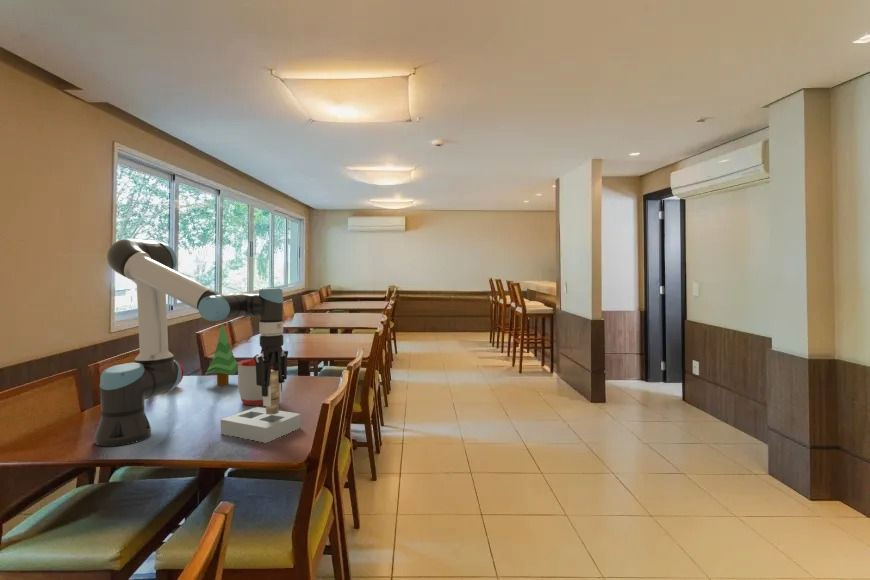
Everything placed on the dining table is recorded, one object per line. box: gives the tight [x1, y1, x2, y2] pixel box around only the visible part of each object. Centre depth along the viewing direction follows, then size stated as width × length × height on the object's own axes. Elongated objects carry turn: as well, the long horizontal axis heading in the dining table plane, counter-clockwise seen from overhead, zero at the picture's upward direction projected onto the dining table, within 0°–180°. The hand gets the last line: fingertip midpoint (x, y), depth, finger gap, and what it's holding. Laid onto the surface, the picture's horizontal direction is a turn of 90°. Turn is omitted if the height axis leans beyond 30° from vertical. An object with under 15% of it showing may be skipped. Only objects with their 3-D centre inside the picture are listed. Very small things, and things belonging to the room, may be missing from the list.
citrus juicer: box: [237, 354, 273, 406], centre depth 191 cm, size 16×17×20 cm
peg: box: [265, 370, 280, 415], centre depth 154 cm, size 4×4×14 cm
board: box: [220, 406, 302, 444], centre depth 157 cm, size 16×20×5 cm
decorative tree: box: [204, 322, 239, 387], centre depth 220 cm, size 14×16×30 cm
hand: (272, 403), depth 154 cm, fingers closed on peg, 4 cm apart
